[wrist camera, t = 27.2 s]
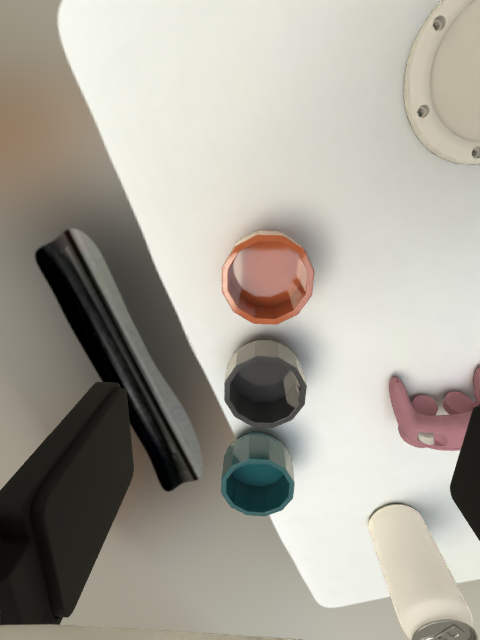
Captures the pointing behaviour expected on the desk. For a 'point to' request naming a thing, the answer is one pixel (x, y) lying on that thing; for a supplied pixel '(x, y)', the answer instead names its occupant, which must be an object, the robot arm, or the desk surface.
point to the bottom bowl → (264, 384)
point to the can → (418, 577)
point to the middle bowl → (267, 277)
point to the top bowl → (257, 475)
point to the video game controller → (433, 416)
